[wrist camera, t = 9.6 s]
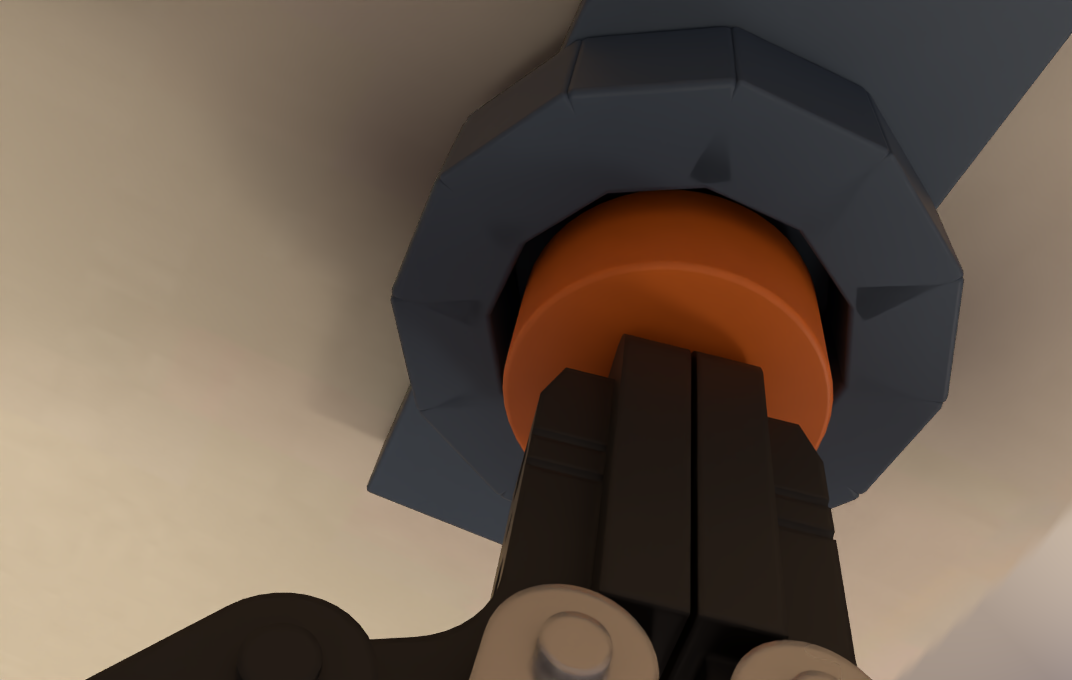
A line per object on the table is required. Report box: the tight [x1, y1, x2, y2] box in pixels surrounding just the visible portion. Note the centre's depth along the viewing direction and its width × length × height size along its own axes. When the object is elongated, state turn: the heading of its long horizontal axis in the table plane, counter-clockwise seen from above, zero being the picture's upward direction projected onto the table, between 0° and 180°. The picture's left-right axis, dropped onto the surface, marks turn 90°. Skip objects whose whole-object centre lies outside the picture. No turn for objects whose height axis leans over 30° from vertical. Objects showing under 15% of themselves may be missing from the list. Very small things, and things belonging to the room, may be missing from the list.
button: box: [503, 190, 833, 452], centre depth 11 cm, size 4×4×2 cm
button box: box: [367, 0, 1072, 544], centre depth 13 cm, size 12×6×3 cm, turn 157°
